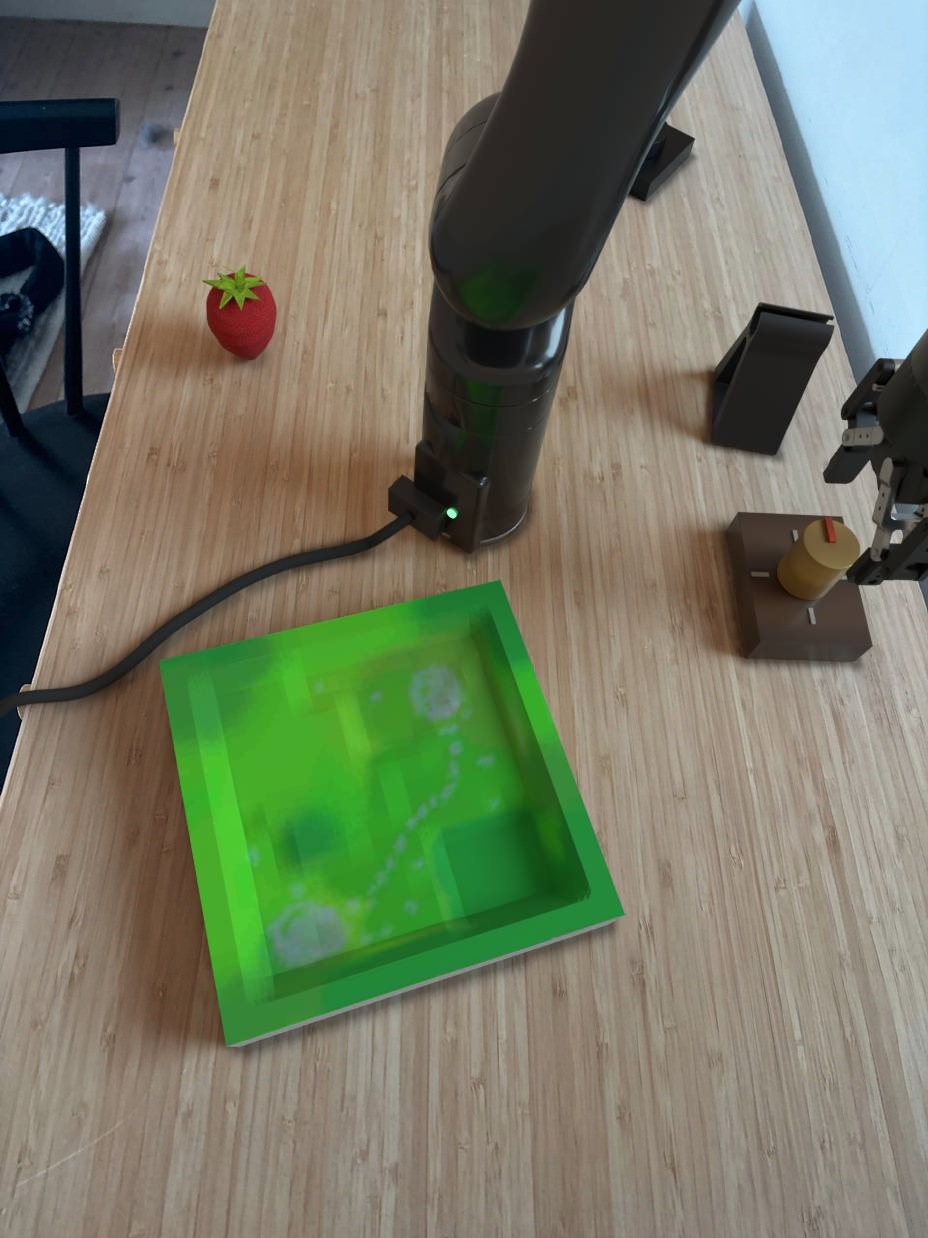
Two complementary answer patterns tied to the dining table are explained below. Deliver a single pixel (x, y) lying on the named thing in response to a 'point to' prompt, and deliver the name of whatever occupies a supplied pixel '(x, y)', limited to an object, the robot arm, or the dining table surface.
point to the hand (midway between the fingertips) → (847, 528)
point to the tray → (377, 808)
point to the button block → (661, 160)
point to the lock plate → (790, 596)
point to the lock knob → (818, 559)
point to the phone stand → (766, 376)
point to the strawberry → (241, 313)
